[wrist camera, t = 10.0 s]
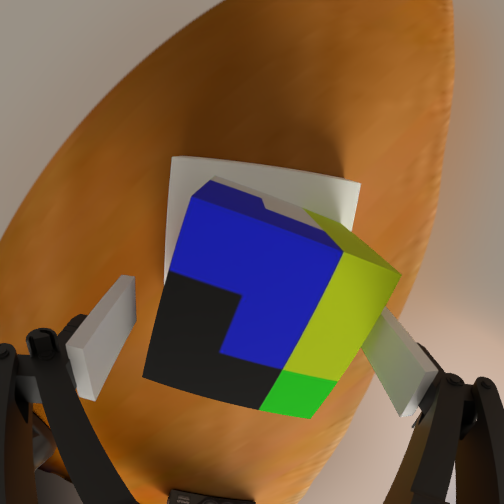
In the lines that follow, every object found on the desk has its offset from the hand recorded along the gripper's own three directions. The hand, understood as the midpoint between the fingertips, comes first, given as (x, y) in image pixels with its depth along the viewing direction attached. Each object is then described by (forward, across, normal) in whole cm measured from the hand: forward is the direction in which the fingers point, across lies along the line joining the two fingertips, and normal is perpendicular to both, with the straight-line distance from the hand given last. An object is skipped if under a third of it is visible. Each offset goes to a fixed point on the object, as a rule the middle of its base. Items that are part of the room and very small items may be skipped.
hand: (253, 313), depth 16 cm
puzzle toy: (+8, 0, 0) cm, 8 cm away
